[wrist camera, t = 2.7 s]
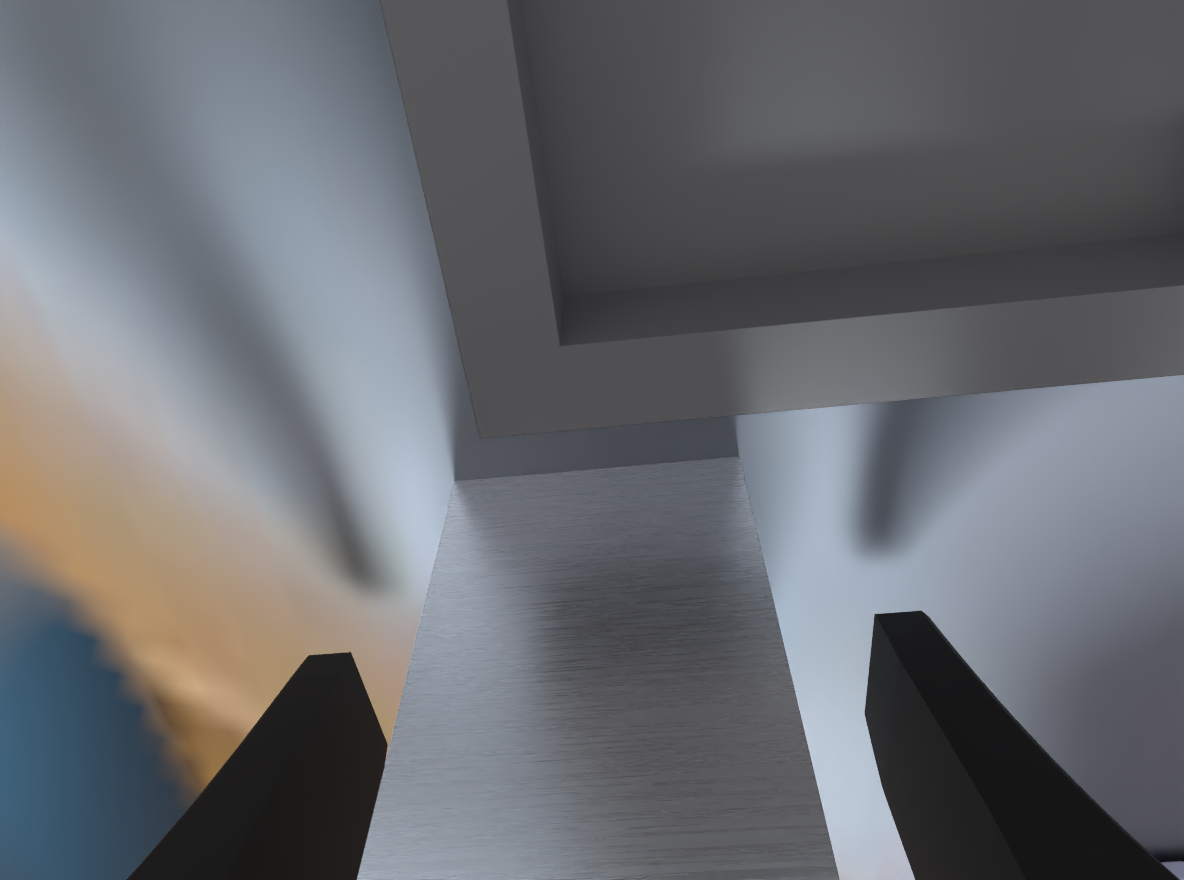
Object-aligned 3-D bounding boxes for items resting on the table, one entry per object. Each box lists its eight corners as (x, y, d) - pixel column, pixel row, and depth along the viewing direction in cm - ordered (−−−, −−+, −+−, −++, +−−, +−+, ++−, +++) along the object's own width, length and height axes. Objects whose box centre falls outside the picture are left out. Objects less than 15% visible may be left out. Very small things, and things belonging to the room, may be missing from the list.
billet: (744, 694, 14) (842, 1251, 9) (513, 710, 15) (453, 1258, 9) (738, 455, 12) (877, 1038, 6) (454, 481, 12) (311, 1060, 6)
